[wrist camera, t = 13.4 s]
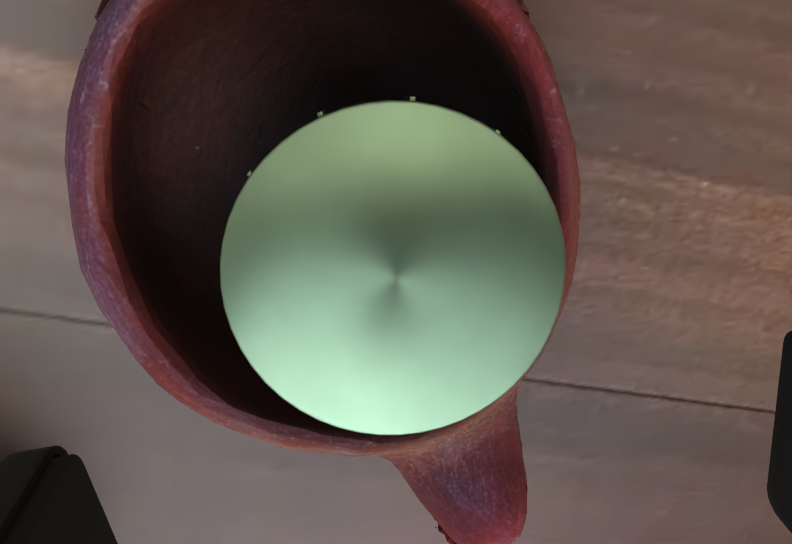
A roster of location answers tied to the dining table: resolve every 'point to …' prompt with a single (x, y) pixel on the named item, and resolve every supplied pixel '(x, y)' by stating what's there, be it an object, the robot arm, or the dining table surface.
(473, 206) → the jar lid
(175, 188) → the bowl
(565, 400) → the dining table surface
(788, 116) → the dining table surface
